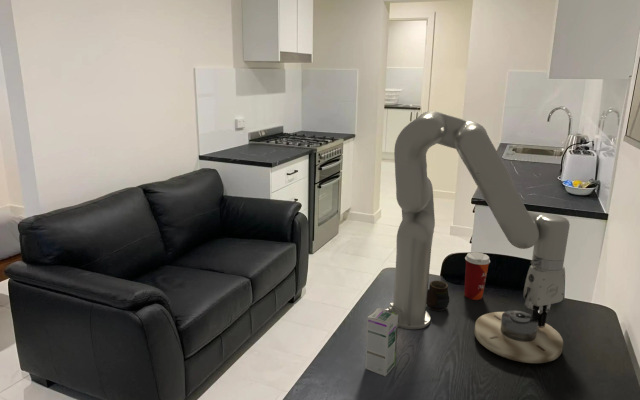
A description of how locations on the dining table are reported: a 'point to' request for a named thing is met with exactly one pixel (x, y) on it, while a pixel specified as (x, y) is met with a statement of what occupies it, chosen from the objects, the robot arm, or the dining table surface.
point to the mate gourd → (437, 295)
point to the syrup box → (381, 341)
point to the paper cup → (475, 274)
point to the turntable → (534, 351)
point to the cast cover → (519, 325)
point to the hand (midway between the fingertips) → (538, 323)
